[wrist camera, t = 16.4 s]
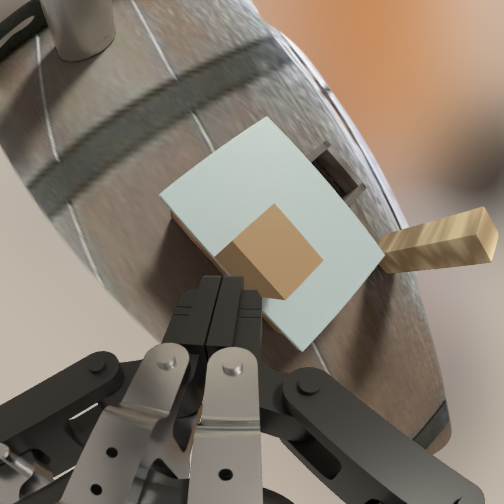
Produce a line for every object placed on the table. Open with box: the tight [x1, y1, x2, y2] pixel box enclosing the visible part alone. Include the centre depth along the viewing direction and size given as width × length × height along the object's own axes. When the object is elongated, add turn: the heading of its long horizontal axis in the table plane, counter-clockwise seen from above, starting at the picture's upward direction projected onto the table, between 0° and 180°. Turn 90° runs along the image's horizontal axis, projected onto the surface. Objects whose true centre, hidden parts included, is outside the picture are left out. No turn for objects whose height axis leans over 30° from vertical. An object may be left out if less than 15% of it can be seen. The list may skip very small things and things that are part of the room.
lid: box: [159, 116, 385, 352], centre depth 20 cm, size 17×12×9 cm
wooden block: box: [378, 207, 499, 274], centre depth 27 cm, size 4×4×16 cm
